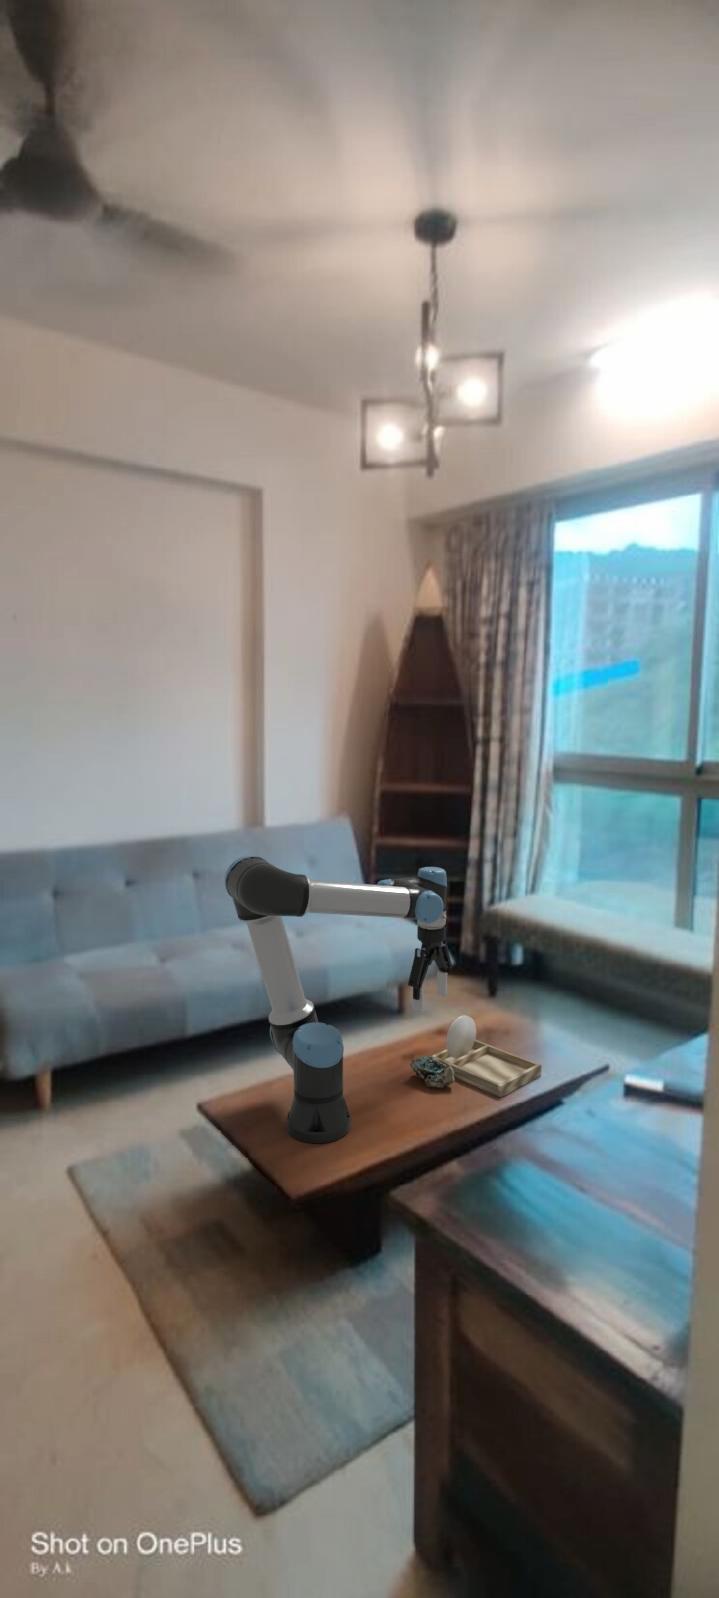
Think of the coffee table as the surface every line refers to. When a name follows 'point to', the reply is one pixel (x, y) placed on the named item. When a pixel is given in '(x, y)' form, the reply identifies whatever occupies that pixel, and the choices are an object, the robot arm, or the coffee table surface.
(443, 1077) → the mineral specimen
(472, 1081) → the wooden tray
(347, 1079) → the coffee table surface
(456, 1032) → the standing plate
